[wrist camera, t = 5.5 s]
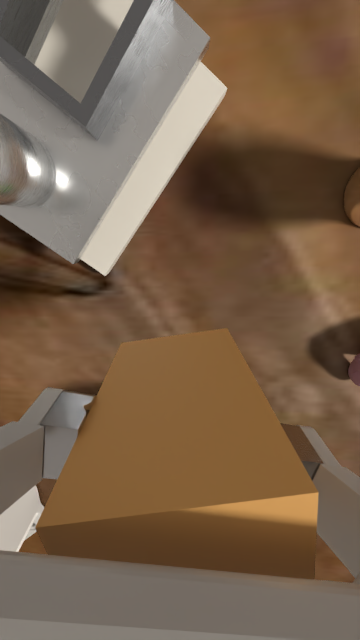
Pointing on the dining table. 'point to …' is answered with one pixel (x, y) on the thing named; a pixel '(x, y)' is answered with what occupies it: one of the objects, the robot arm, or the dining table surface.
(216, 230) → the dining table surface
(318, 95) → the dining table surface
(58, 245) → the grey metal fixture
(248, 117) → the dining table surface
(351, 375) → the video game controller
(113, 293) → the dining table surface
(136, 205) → the board
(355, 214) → the beer glass
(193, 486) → the wedge
